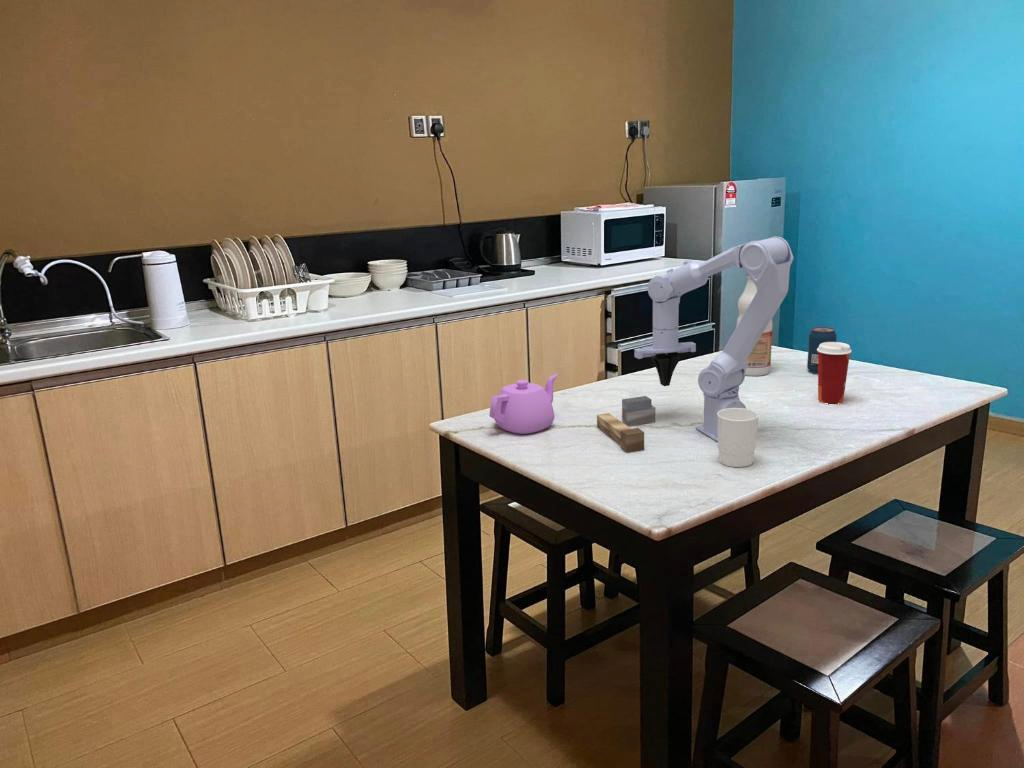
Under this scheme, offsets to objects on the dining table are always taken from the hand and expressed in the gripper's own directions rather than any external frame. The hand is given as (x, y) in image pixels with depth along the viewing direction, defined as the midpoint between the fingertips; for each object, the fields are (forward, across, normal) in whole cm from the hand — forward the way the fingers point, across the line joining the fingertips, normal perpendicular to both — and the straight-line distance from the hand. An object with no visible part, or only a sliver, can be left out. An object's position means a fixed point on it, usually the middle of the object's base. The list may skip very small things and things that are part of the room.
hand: (665, 384), depth 182 cm
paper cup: (+8, -42, +5) cm, 43 cm away
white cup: (+8, -1, +29) cm, 30 cm away
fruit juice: (+8, -40, -25) cm, 48 cm away
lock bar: (+4, +7, 0) cm, 8 cm away
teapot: (+9, +31, -9) cm, 34 cm away
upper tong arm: (+7, +15, +6) cm, 18 cm away
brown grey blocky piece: (+8, +10, +7) cm, 15 cm away
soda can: (+8, -56, -17) cm, 59 cm away
